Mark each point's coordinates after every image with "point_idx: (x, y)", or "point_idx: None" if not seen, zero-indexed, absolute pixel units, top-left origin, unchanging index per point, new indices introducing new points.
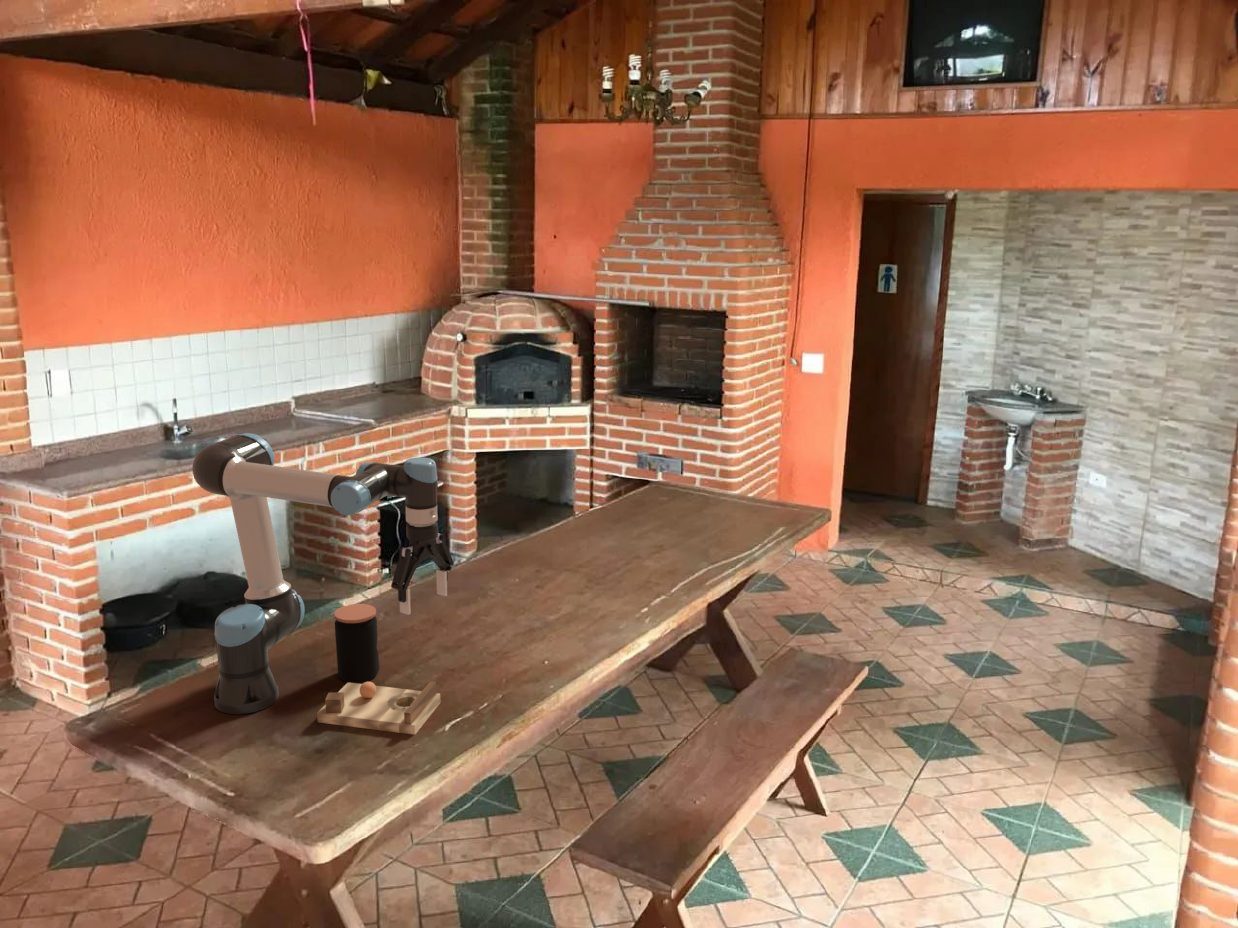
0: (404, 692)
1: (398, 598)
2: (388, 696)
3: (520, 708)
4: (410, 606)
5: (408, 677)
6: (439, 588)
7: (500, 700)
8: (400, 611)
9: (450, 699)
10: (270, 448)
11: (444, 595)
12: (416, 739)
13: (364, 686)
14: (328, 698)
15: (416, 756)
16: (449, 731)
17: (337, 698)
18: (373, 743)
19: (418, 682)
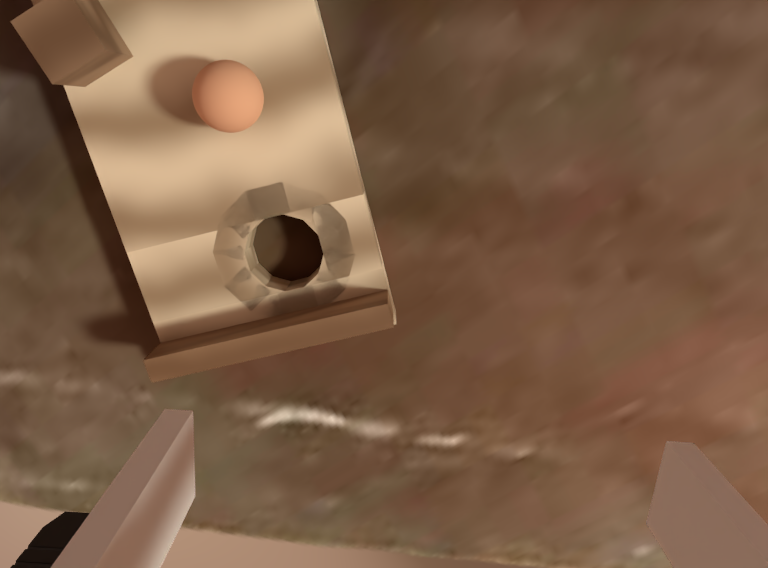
0: (339, 202)
1: (35, 539)
2: (282, 167)
3: (476, 537)
4: (170, 546)
5: (509, 84)
6: (690, 511)
7: (495, 466)
8: (162, 418)
9: (429, 328)
10: None
11: (651, 521)
12: (167, 379)
13: (197, 98)
14: (27, 26)
15: (96, 432)
16: (258, 435)
17: (50, 65)
18: (72, 278)
19: (490, 148)
